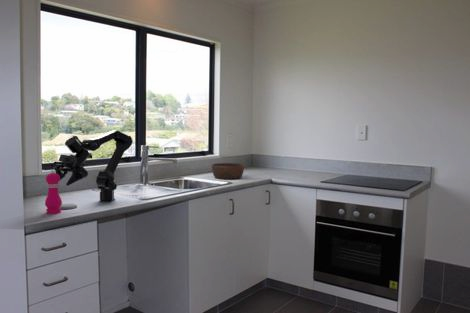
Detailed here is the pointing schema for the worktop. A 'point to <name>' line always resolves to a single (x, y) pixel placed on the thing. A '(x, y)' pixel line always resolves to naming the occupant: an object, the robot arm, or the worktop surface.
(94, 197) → the worktop surface
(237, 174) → the wooden bowl
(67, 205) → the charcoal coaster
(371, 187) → the worktop surface
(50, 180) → the pepper mill
